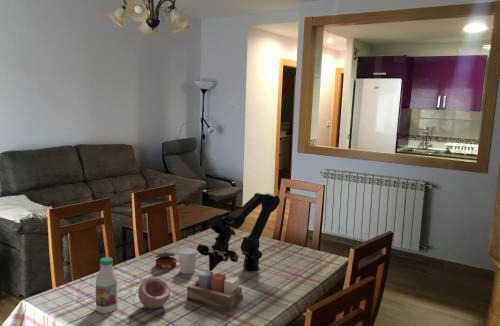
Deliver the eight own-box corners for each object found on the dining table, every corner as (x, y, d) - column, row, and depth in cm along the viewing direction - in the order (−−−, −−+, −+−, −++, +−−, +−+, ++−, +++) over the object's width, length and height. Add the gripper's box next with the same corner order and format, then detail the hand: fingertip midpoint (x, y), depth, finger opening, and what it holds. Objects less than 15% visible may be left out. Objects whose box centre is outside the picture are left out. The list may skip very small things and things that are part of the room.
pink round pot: (154, 317, 149) (154, 288, 147) (131, 308, 155) (131, 280, 154) (176, 305, 159) (176, 277, 157) (154, 296, 165) (154, 270, 164)
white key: (229, 293, 167) (229, 276, 166) (238, 295, 165) (238, 278, 164) (223, 298, 163) (224, 280, 161) (232, 300, 161) (233, 282, 160)
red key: (216, 290, 169) (217, 273, 168) (225, 292, 168) (225, 275, 167) (210, 294, 165) (211, 277, 164) (219, 297, 163) (219, 279, 162)
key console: (203, 288, 174) (203, 275, 173) (242, 298, 166) (243, 284, 166) (187, 300, 163) (187, 286, 162) (229, 312, 155) (229, 297, 154)
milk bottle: (99, 303, 158) (98, 255, 155) (119, 303, 158) (119, 255, 156) (93, 314, 150) (92, 263, 147) (114, 313, 151) (114, 263, 148)
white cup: (192, 275, 187) (193, 254, 186) (176, 273, 188) (177, 253, 187) (198, 268, 195) (198, 249, 193) (182, 267, 196) (183, 247, 195)
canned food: (155, 277, 195) (146, 258, 194) (167, 267, 204) (158, 250, 203) (173, 271, 190) (163, 252, 189) (184, 261, 199) (175, 243, 198)
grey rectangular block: (204, 286, 172) (204, 270, 171) (212, 288, 170) (213, 272, 169) (198, 291, 167) (198, 274, 166) (206, 293, 166) (207, 276, 165)
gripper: (246, 251, 184) (235, 283, 175) (211, 243, 191) (198, 274, 183) (239, 239, 175) (227, 272, 167) (203, 232, 183) (189, 263, 174)
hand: (210, 270), depth 173 cm, fingers closed
